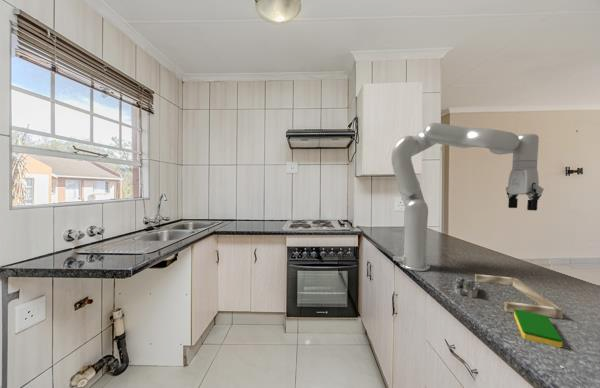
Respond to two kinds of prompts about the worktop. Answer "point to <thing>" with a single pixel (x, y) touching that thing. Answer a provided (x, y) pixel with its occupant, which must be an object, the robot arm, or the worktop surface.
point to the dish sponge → (537, 328)
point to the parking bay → (543, 304)
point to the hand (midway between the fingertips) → (521, 209)
